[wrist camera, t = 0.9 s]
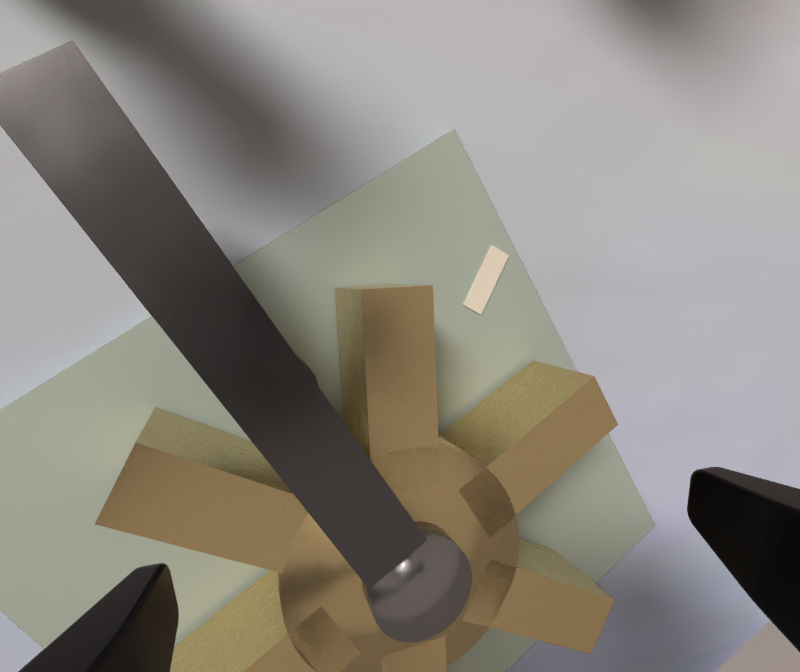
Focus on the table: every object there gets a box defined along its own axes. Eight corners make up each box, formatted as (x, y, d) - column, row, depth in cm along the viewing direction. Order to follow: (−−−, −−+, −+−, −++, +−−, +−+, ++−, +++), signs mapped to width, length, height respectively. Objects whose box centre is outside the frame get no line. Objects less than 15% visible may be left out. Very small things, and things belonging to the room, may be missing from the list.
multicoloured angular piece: (305, 813, 21) (342, 1068, 14) (-215, 326, 14) (-657, 373, 7) (617, 517, 25) (758, 603, 19) (355, 27, 18) (432, -125, 11)
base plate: (299, 857, 22) (301, 875, 21) (-122, 485, 15) (-137, 494, 15) (646, 520, 27) (656, 526, 27) (448, 133, 21) (455, 128, 20)
